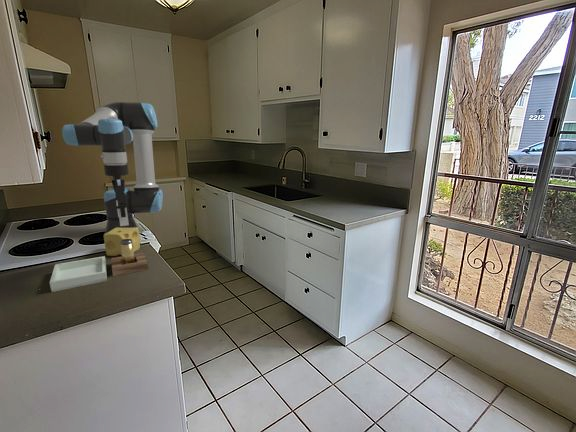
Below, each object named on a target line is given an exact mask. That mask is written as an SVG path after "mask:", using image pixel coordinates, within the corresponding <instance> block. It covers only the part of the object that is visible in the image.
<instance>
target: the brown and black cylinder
mask: <svg viewBox="0 0 576 432" xmlns="http://www.w3.org/2000/svg"><path fill="white" fill-rule="evenodd" d="M120 242H121V249H122V256H123V263H124V264H130V263H135V259H134V254H135V252H134V251H133V243H132V239H124V240H121V241H120ZM122 256H121V257H122Z"/></svg>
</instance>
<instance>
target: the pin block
mask: <svg viewBox="0 0 576 432" xmlns="http://www.w3.org/2000/svg"><path fill="white" fill-rule="evenodd" d="M134 259H135V263H130V264H124V263H123V256H117V257H111V259H110V262H111V271H112V277H117V276H122V275H127V274H132V273H136V272H142V271H148V270H149V265H148V261H147V258H146V256H145V252H140V253H134Z"/></svg>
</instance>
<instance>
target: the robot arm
mask: <svg viewBox="0 0 576 432" xmlns="http://www.w3.org/2000/svg"><path fill="white" fill-rule="evenodd" d="M157 119H158V118H157V114H156V111H155V108H154V107H153V105H152V104H151V103H147V102H146V103H145V102H122V101H117V102H111V103H107V104H104V105H102V106H100V107H98V108H97V109H96V110H95V112H94V114H93V115H90V116H89V117H87V118H86V119H84V120H83V121H81V122H79V123H77V124H73V123H71V124H64V125H63V126H62V130H61V133H62V138H63V141H64V142H65V143H66V145H67V146H76V147H80V146H81V147H82V146H83V147H85V146H89V147H90V146H91V147H92V146H93V147H95V146H97V147H98V146H100V147H101V153H102V154H100V158H102V161H103V164H104V165H103V169H104V175H105V176H108V177H112V179H111V184H112V187H113V188H111V189H108V190H106V191H105V192H104V193H103V202H104V209H105V215H106V219H107V220H106V225H105V230H104V234H106V233H108V232H109V231H111V230H113V229H114V228H134V227H138V228H139V226H138V225H137V222H136V221H135V218H134V216H133V214H152V213H159V212H161V210H162V208H163V202H164V198H163V197H164V194H163V189H160V186H159V185H158V184H157V183H156V176H155V175H156V174H155V165H154V164H155V162H154V161H155V160H154V150H153V149H154V148H153V138H152V136H153V134H155V129H157V128H158V120H157ZM131 143H132V145H133V155H134V165H135V166H134V167H135V176H136V177H135V178H136V184H135V185H134V186H133V190H131V189H130V187H126V186H125V184H126V183H125V179H123V178H122V176H127V175H129V172H130V171H129V167H128V156H127V151H126V149H127V148H126V146H128V145H130V144H131Z"/></svg>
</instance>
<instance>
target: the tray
mask: <svg viewBox="0 0 576 432" xmlns="http://www.w3.org/2000/svg"><path fill="white" fill-rule="evenodd" d="M107 276H108V274H107V260H106V256H105V255H104V256H103V255H102V256H98V257H92V258H87V259H86V258H85V259H80V260H74V261H69V262H68V261H67V262H63V263H61V262H60V263H56V264H55V265H54V267H53V270H52V275H51V276H50V280H49V287H50V290H51V293H54V292H59V291H64V290H69V289H74V288H79V287H84V286H89V285H95V284H99V283H104V282H108V277H107Z"/></svg>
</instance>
